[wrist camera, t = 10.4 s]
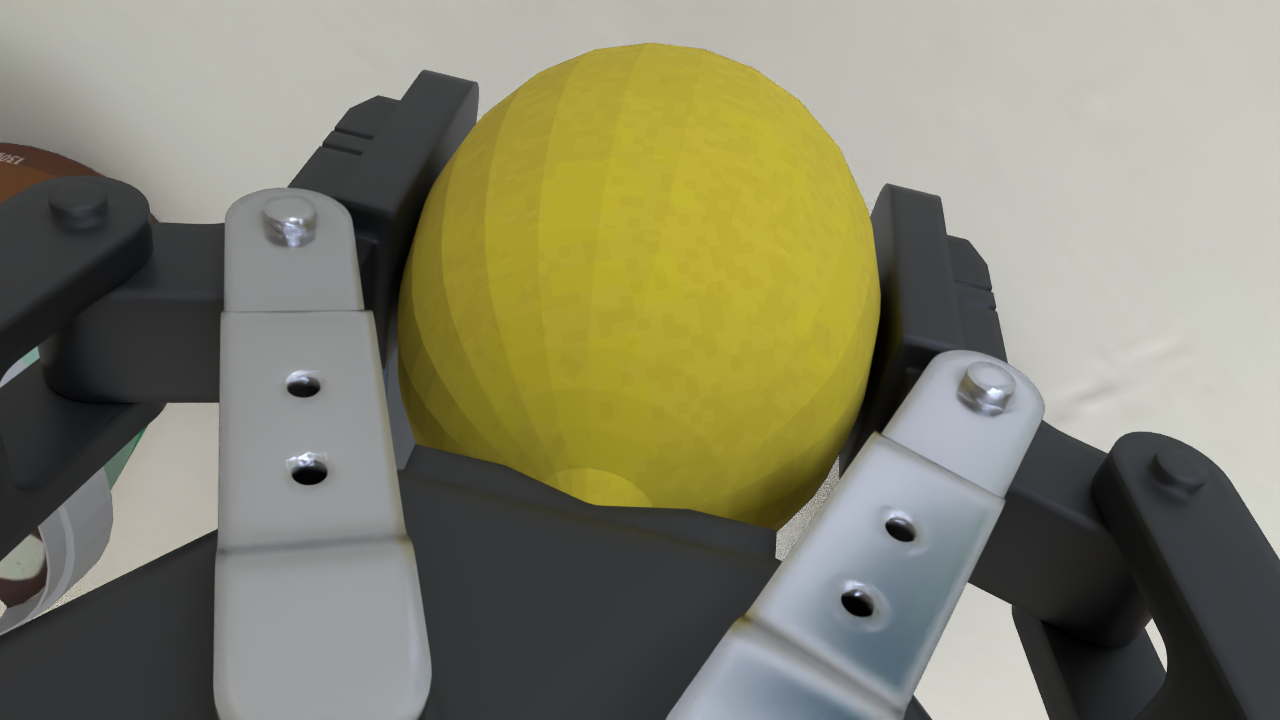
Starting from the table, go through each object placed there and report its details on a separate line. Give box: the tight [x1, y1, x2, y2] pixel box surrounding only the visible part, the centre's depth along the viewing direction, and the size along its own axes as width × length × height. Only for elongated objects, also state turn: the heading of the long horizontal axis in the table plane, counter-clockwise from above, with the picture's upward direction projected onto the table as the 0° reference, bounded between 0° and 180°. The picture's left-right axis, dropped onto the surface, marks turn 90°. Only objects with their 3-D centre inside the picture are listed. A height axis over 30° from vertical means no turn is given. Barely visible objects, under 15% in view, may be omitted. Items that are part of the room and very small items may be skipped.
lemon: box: [397, 43, 881, 531], centre depth 13 cm, size 6×6×8 cm
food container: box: [0, 143, 158, 635], centre depth 30 cm, size 12×6×10 cm, turn 25°
